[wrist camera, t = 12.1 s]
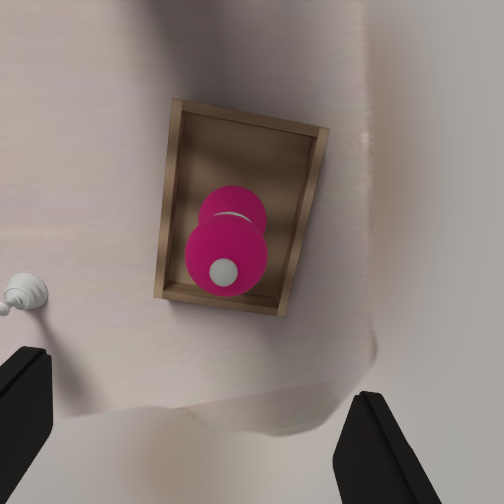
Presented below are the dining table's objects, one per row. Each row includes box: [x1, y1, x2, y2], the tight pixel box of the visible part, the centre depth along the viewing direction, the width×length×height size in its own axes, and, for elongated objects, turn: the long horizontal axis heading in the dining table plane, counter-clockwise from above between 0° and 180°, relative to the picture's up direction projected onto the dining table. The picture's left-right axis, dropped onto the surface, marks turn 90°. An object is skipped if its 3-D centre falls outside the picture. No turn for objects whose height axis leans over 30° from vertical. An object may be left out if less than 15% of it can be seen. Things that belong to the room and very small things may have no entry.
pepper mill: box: [185, 186, 268, 297], centre depth 29 cm, size 7×7×20 cm
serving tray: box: [154, 98, 330, 317], centre depth 38 cm, size 22×16×4 cm
